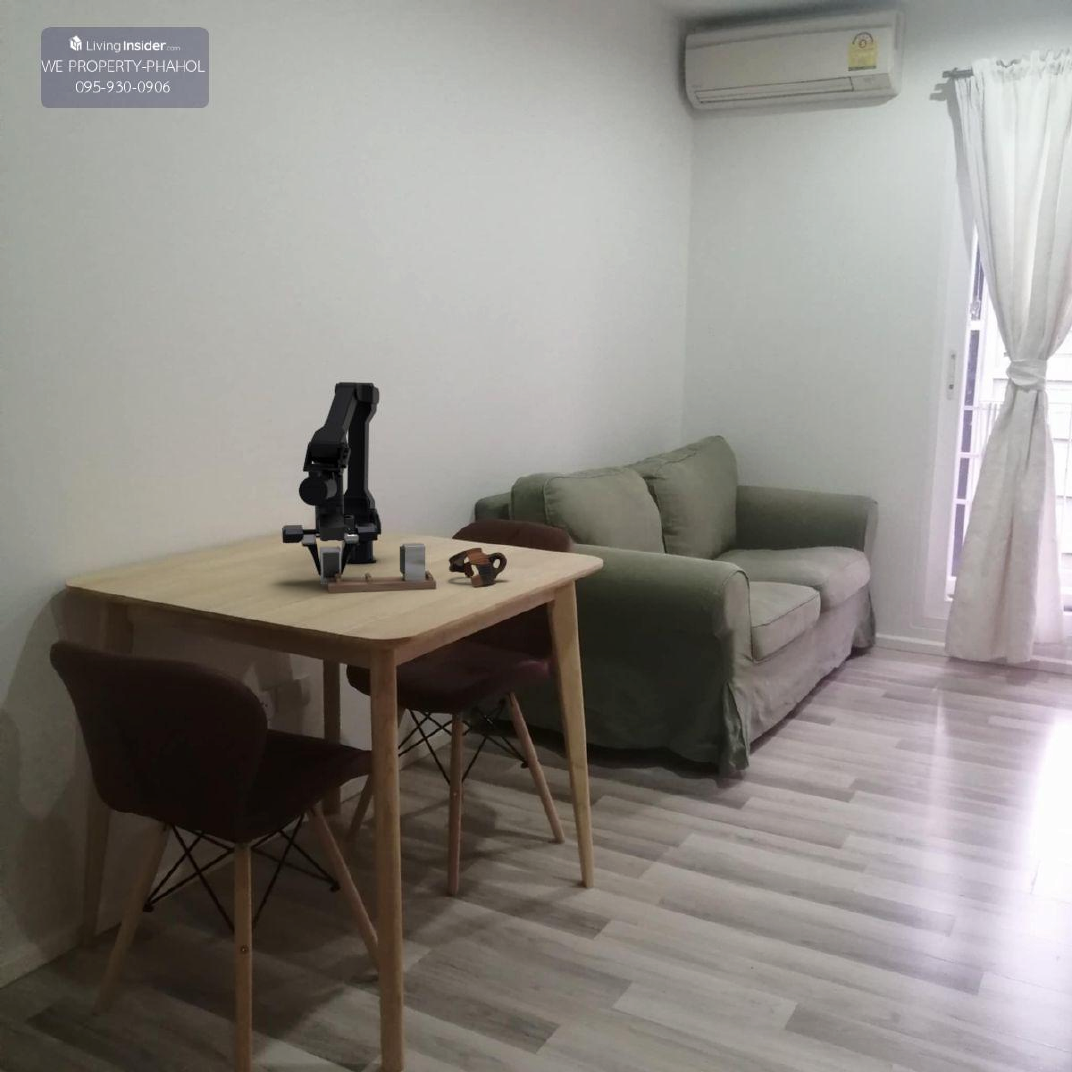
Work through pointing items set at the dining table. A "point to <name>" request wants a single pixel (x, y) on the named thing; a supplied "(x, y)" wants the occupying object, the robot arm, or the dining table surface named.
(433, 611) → the dining table surface
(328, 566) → the block
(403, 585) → the rail
